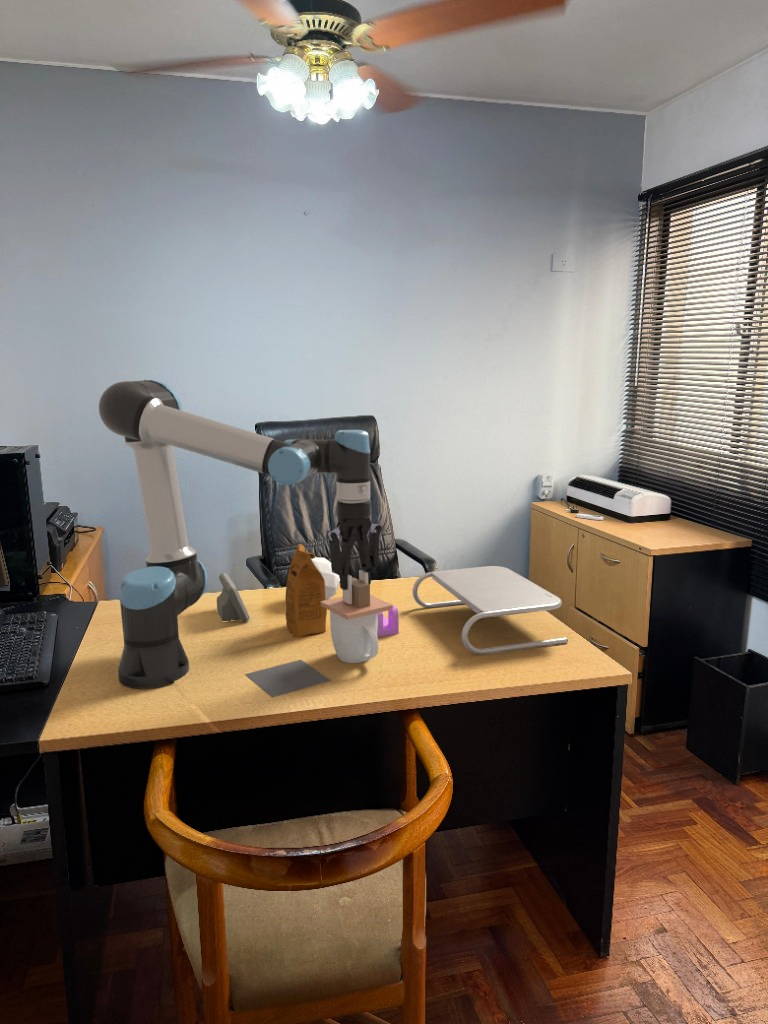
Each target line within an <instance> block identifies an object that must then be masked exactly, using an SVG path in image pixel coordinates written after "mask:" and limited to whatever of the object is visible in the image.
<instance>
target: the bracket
mask: <svg viewBox="0 0 768 1024" xmlns="http://www.w3.org/2000/svg"><path fill="white" fill-rule="evenodd" d="M377 615H378V630H377V638H378V637H386V636H392V635H397V634H399V633H400V631H399V630H400V629H399V626H400V625H399V623H400V621H399V620H400V619H399V609H398V607H397V605H393V609H392V610H387V617H385V616H384V611H383V612H379V613H377Z"/></svg>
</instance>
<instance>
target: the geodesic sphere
mask: <svg viewBox="0 0 768 1024" xmlns="http://www.w3.org/2000/svg"><path fill="white" fill-rule="evenodd" d="M312 562H313V563H314V565H315V566H316V568H317V569H318V570H319V572H320V573H321V575H322V576H323V578H324V580H325V596H326V599H325V600H329V599H332V597H334V596H335V595H336V594H337V591H338V589H339V586H340V575H337V574H335V573H333V572H332V569H331V561H330V560H328V559H326V558H325V557H318V556H315V558H314V559H312Z"/></svg>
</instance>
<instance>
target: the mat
mask: <svg viewBox="0 0 768 1024" xmlns="http://www.w3.org/2000/svg"><path fill="white" fill-rule="evenodd" d="M244 675H245V676H246V678H248V679H249V680H251V681H252V682H253V683H254V684H255V685H257V686H258V687H259V688H260V689H262V691H264V692H265V693H266V694H267V695H269V696H270V697H271V698H276V697H279V696H282V695H287V694H289V693H292V692H296V691H300V690H303V689H307V688H310V687H314V686H317V685H321V684H325V683H328V682H331V681H332V680H331V679H330V678H328V677H327V676H326V675H324V674H323V673H321V672H320V671H318V670H317V669H316V668H315V667H312V666H311V665H310V664H308V663H306V661H303V660H302V659H298V660H294V661H290V662H287V663H283V664H279V665H275V666H271V667H267V668H264V669H260V670H255V671H253V672H252V671H251V672H248V673H244Z"/></svg>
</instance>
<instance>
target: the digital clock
mask: <svg viewBox="0 0 768 1024" xmlns="http://www.w3.org/2000/svg"><path fill="white" fill-rule="evenodd" d="M218 579H219V581H220V584H221V586H222V591H221V593H220V594H219V595H218V596H217V598H216V611H217V614H218V616H219V618H220V619H221V621H229V622H232V621H231V620H237V621H241V623H248V622H249V620H250V618H251V617H250V615H249V614H250V613H249V612H248V610H247V608H246V606H245V604H244V601H243V599H242V597H241V595H240V592H239V591H238V588H237V587H236V585H235V584H234V582H233V580H232V579H231V578H230V576H229V575H228V574H227V573H225V572H222V573H221V574H219V576H218Z"/></svg>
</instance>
